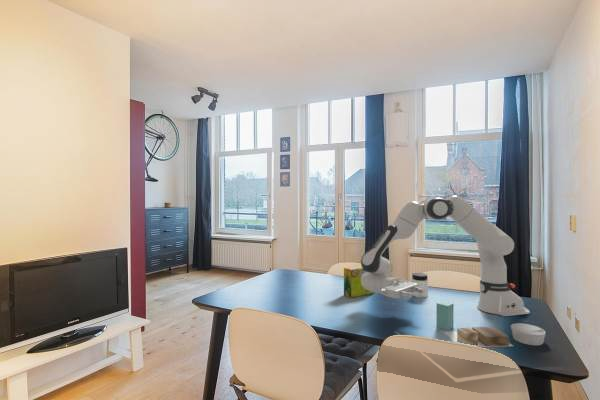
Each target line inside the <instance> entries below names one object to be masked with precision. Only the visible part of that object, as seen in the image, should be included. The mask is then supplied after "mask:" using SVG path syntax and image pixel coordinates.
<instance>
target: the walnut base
mask: <svg viewBox="0 0 600 400" xmlns="http://www.w3.org/2000/svg"><path fill="white" fill-rule="evenodd" d="M471 329H473V330H474V331H476V332H478V341H479V342H481V343H482V344H483V345H485V346H502V347H510V346H509V343H510V336H509V335H508V334H506V333H505V332H503V331H502V330H500V329H498V328H497V327H496V326H472V328H471Z"/></svg>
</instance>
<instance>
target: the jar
mask: <svg viewBox="0 0 600 400" xmlns="http://www.w3.org/2000/svg"><path fill="white" fill-rule="evenodd" d="M411 276H412V277H411V278H412V279H411V282H415V283H417V284H418V288H420V289H423V293H418V292H414V293H413V297H415V298H423V299H424V298H427V297H428V295H429V279H428V274H427V273H422V272H413V273H412V275H411Z"/></svg>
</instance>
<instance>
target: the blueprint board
mask: <svg viewBox="0 0 600 400" xmlns="http://www.w3.org/2000/svg"><path fill="white" fill-rule="evenodd" d="M443 333H444V334H445V335H446V336H447V337H448V338H449V339H451V340H452V341H453V342H454V343H455V342H457V331H443ZM478 346H480V347H479V348H493V347H495V348H496V347H499V348H500V347H503V346H485V345H483V344H482V343H481V342H479V341H478ZM508 347H514V344H512V343H510V342H509V346H508Z"/></svg>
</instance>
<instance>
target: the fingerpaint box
mask: <svg viewBox="0 0 600 400" xmlns="http://www.w3.org/2000/svg"><path fill="white" fill-rule="evenodd" d="M364 273H366V271H365V270H364V269H363V268H362V266H361V265H355V266H348V267H346V266H345V267H344V268H343V296H346V297H347V298H355V297H361V296H366V295H371V294H376V293H375V292H372V291H369V290H367V289H365V288H364V287H363V286H362V284H361V276H362V275H363V274H364Z"/></svg>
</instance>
